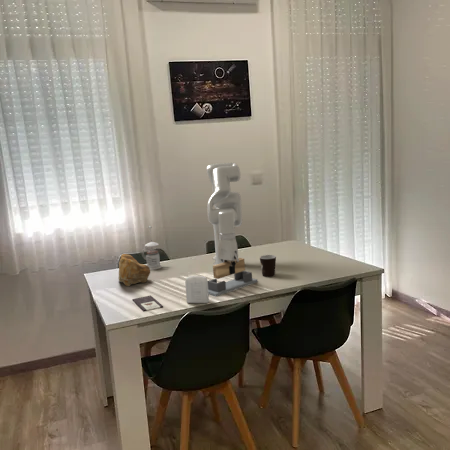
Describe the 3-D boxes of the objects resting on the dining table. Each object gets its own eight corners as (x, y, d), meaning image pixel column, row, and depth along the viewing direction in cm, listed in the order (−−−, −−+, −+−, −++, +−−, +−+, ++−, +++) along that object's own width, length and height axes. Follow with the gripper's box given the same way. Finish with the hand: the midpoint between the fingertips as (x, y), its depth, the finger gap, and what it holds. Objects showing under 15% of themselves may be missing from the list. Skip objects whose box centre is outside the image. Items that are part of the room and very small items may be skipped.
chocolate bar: (150, 295, 219) (163, 306, 203) (150, 297, 219) (163, 308, 203) (132, 299, 215) (143, 310, 199) (132, 301, 215) (143, 312, 199)
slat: (213, 277, 219) (212, 265, 218) (240, 269, 231) (239, 257, 230) (218, 278, 217) (217, 266, 216) (244, 270, 229) (244, 258, 228)
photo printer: (209, 300, 208) (208, 274, 206) (208, 303, 204) (206, 276, 202) (187, 300, 210) (185, 274, 207) (185, 303, 205) (183, 277, 203)
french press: (157, 269, 266) (153, 227, 262) (139, 269, 270) (135, 227, 266) (164, 265, 275) (161, 224, 271) (147, 264, 279) (143, 224, 275)
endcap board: (202, 292, 220) (201, 281, 219) (243, 278, 238) (243, 268, 237) (215, 296, 212) (215, 285, 212) (257, 281, 231) (257, 271, 230)
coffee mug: (276, 277, 236) (275, 258, 234) (259, 277, 238) (258, 259, 236) (278, 271, 247) (277, 253, 245) (262, 271, 249) (261, 253, 247)
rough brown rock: (151, 288, 235) (151, 259, 233) (118, 289, 231) (117, 260, 229) (148, 277, 257) (148, 251, 255) (118, 278, 253) (118, 252, 252)
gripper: (210, 236, 225) (212, 272, 228) (233, 239, 212) (235, 277, 216) (221, 233, 229) (224, 268, 233) (244, 236, 217) (247, 274, 221)
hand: (229, 272), depth 224 cm, fingers closed on slat, 3 cm apart
